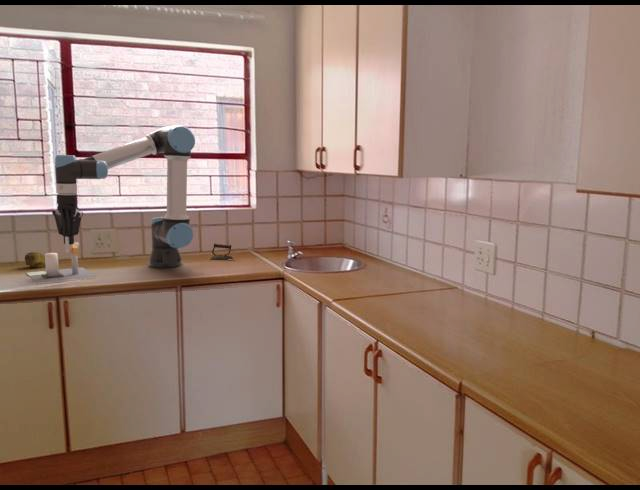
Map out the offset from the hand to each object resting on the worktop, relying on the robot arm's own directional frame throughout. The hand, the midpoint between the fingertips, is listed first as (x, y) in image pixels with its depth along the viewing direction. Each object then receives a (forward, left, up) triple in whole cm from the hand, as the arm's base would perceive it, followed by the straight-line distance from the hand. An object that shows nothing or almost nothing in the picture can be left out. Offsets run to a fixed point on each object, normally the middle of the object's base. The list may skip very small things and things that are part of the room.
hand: (69, 252), depth 227 cm
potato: (+5, -35, -13) cm, 37 cm away
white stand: (+1, -13, -13) cm, 18 cm away
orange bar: (-3, -5, -1) cm, 6 cm away
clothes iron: (-74, -10, -13) cm, 76 cm away
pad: (+9, -18, -12) cm, 23 cm away
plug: (+5, -11, -11) cm, 16 cm away
